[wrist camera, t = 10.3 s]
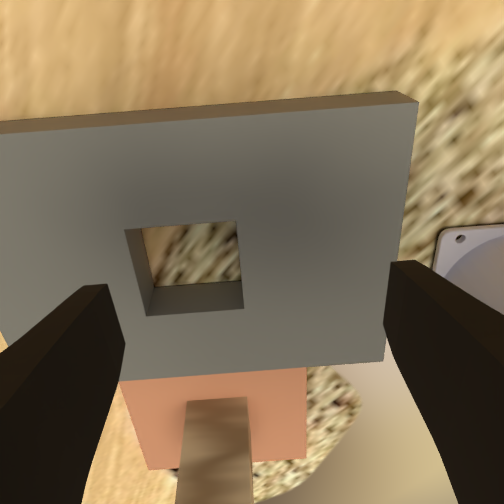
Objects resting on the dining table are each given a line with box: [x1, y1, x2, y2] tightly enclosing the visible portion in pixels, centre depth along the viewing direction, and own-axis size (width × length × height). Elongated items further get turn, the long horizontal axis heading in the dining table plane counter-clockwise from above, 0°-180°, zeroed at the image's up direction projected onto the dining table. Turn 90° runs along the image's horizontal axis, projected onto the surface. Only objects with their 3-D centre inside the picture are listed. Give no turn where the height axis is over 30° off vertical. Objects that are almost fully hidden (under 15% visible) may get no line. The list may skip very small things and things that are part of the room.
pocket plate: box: [0, 91, 419, 382], centre depth 21 cm, size 20×14×2 cm
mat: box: [119, 367, 307, 470], centre depth 29 cm, size 12×10×1 cm
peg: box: [175, 396, 254, 504], centre depth 25 cm, size 4×4×8 cm
